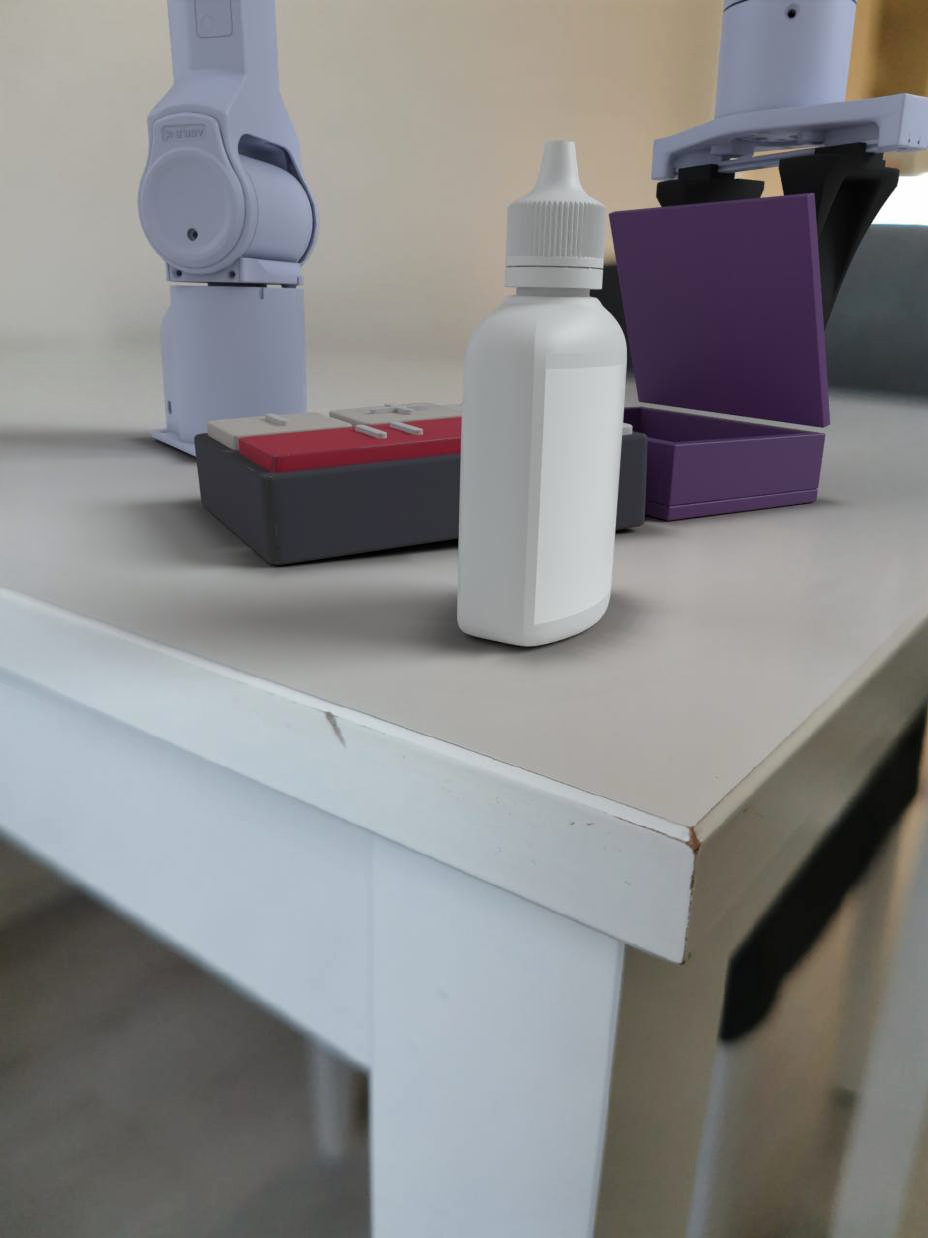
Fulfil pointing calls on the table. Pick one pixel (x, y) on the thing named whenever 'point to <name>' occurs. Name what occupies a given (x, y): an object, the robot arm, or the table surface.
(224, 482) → the grey and red box
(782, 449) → the purple box
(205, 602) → the table surface
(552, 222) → the eye dropper bottle
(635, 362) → the purple lid
